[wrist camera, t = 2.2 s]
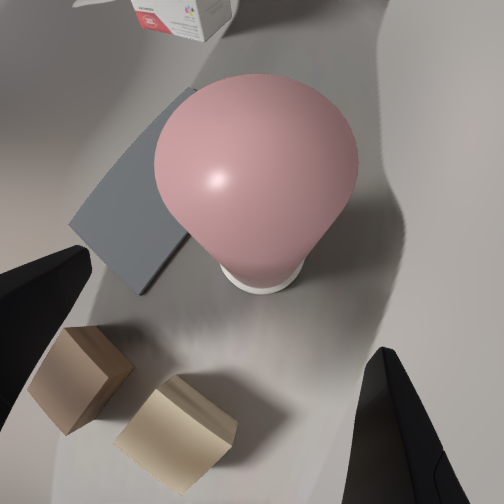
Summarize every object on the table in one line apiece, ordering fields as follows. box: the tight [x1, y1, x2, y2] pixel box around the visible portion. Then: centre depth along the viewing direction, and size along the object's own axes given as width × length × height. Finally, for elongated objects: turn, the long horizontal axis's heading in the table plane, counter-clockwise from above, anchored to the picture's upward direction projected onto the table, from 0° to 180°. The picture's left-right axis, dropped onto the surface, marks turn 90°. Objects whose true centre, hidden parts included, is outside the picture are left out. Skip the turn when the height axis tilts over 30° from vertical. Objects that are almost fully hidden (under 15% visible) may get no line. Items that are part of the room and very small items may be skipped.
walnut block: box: [27, 326, 135, 436], centre depth 16 cm, size 6×4×4 cm, turn 141°
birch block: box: [113, 375, 238, 495], centre depth 16 cm, size 5×5×4 cm
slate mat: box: [69, 87, 197, 295], centre depth 20 cm, size 14×8×1 cm, turn 142°
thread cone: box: [154, 74, 358, 295], centre depth 13 cm, size 5×5×13 cm
